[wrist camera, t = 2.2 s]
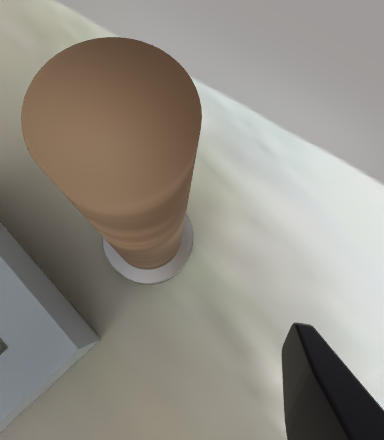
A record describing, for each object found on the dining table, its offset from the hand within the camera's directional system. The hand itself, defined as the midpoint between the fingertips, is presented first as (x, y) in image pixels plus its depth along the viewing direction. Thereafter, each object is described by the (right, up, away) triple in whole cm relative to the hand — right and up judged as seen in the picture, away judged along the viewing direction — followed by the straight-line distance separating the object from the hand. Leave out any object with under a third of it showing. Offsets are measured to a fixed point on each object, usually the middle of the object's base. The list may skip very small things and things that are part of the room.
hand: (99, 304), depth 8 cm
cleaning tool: (0, +1, +11) cm, 11 cm away
